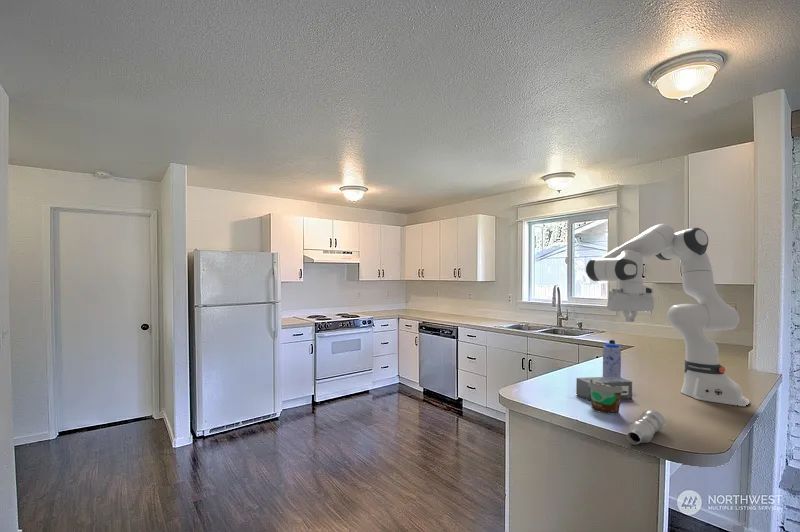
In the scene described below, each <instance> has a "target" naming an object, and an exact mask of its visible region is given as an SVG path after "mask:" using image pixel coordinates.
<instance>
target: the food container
mask: <svg viewBox="0 0 800 532" xmlns="http://www.w3.org/2000/svg"><path fill="white" fill-rule="evenodd" d="M588 386H589V387H590V391H591V401H590V402H591V408H592V409H593V410H594V411H597V412H599V411H600V413H603V412H604V414H610V413H616V414H619V413H620V405H621V399H620V398H621V393H622V392H623V388H622V386H620V387H613V386H611V385H608V384H604V383H597V382H593V381H592V379H590V381H589V384H588Z"/></svg>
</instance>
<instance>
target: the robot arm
mask: <svg viewBox="0 0 800 532" xmlns="http://www.w3.org/2000/svg"><path fill="white" fill-rule="evenodd" d="M708 246H709V237H708V234H707V232H706V231H705V230H703V229H702V228H700V227H689V228H687V229H683V230H680V231H677V232H676V231H675V230H674V228H673V226H671V225H670V224H666V223H659V224H655V225H653V226H651V227H649V228H648V229H646V230H645V231H643V232H641V233H640V234H638V235H637V236H636V237H634V238H632V239H630V240H629V241H626V242H625V243H623V244H621V245H619V246H616V247H615V248H613V249H612V250H610V251H609V252H607V253H605V254H603V255H602V256H599V257H592V258H591V259H590V260H589V261H588V262H587V264H586V266H585V273H586V275H587V277H588V278H589V279H590V280H591V281H593V282H601V281H602V282H604V281H605V282H618V288H612V289H610V290H609V291H608V298H607V302H606V303H607V304H606V309H607V310H608V311H609V312H610V311H611V312H622V314H623V315H624V317H625V322H626V323H635V321H636V320H635V319H636V317H637V315H638V312H653V310H654V307H655V297H654V295H653V294H654V293H655V292H654V288H651V287H649V286H646V285H644V280H643V273H644V261H643V259H649V258H653V257H656V258H657V259H658V260H661V261H671V260H672V259H673V260H674V259H680V263H681V264H680V272H681V281H682V282H681V283H682V290H683V292H684V293H685V294H686V295H688V296H690V297H692V298H693V299H695V300H696V301H697V303H698V304H697V303H681V304H679V303H678V304H675V305H672V306H670V307H669V309H668V311H667V313H666V314H667V317H666V318H667V321H668V323H669V324H670V325H671V326H672V327H674V328H675V329H676V330H677V331H678V332H679V333H680V334H681V336H682V337H683V341H684V345H685V347H684V348H685V360H684V363H683V364H684V365H683V371H684V379H683V385H682V387H681V390H680V392H681V393H682V394H684V395H686V396H688V397H692V398H694V399H696V400H699V401H704V402H712V403H718V404H725V405H731V406H732V405H733V406H737V405H738V406H737V407H747V406H746V405H748V404H749V405H750V400H749V398H747V397H745V396H744V395H743V392H742V388H741V386H740V385H739V384H738V383H737V382H736V381H734V380H733V379H731V378H730V377H729V376H728V375H726V374H725V372H726V368H725V366H724V365H722V364H720V363H719V346H718V345H717V343H715V342H714V341H713V340H712V339H709V338H707V337H706V336H705V333H704V331H720V332H721V331H730V330H734V329H736V328H737V326H738V325H739V323H740V314H739V312H738V311H737V310H736V308H734V307H732V306H731V305H729V304H727V302H725V301H724V300H723V299H722V298H721V297H720V295H719V292H718V291H717V289H716V288H717V287H716V284H715V281H714V273H713V268H712V267H713V266H712V264H711V261H710V258H709V255H708V254H707V253H708V252H706V251H707V249H708ZM749 405H748V406H749Z"/></svg>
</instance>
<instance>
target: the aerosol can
mask: <svg viewBox="0 0 800 532" xmlns="http://www.w3.org/2000/svg"><path fill="white" fill-rule="evenodd" d="M621 348H622V347H621V346H620V345H619V344H617V343H616V341H615V340H614V339H610V340H609V342H606V343H605V344H604V345H603V347H602V377H617V376H618V377H620V378H622V377H621V375H622V374H621V372H622V371H621V368H622V367H621V366H622V365H621V364H622V349H621Z"/></svg>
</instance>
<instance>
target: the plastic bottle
mask: <svg viewBox="0 0 800 532" xmlns="http://www.w3.org/2000/svg"><path fill="white" fill-rule="evenodd" d="M665 425H666V420H665V417H664V416H663V415H662V414H661V413H660V412H659V411H657V410H653V409H650V410H649V409H648V410H646V411H644V412H643V413H642V414H641V416H640V417H639V419H638V420H635V421H633V422H631V423H630V424H629V425H628V428H627V431H628V433H627V434H626V438H627V440H628V441H629V443H631V444H633V445H639V444H648V443H650V442H651V441H652V439H653V437H654V435H655V433H657V432H659V431H661V430H663V429H664V428H665ZM637 439H639V440H637Z"/></svg>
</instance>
